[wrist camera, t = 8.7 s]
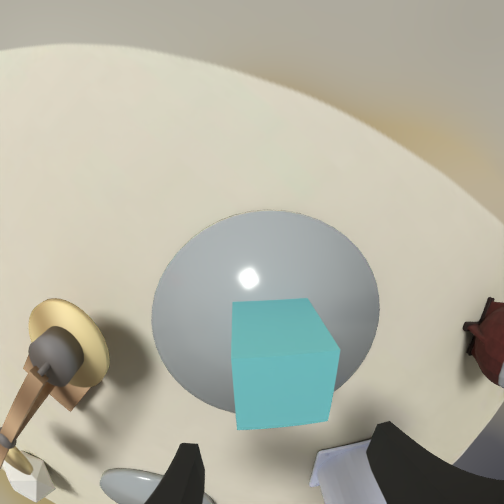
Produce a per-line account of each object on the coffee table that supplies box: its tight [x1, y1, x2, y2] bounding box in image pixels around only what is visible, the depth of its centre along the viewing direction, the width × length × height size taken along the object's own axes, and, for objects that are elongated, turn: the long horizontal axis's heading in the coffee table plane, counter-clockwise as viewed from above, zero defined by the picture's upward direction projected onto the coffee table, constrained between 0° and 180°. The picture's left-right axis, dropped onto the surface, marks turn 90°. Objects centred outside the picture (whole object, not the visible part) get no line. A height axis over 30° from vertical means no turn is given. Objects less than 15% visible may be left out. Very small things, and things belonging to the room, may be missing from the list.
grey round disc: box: [100, 468, 214, 504], centre depth 23 cm, size 15×15×1 cm
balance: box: [0, 298, 110, 475], centre depth 12 cm, size 21×6×12 cm, turn 136°
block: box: [231, 298, 340, 430], centre depth 14 cm, size 4×4×6 cm
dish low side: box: [152, 210, 380, 413], centre depth 18 cm, size 15×15×1 cm
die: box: [3, 451, 56, 502], centre depth 19 cm, size 8×9×10 cm
